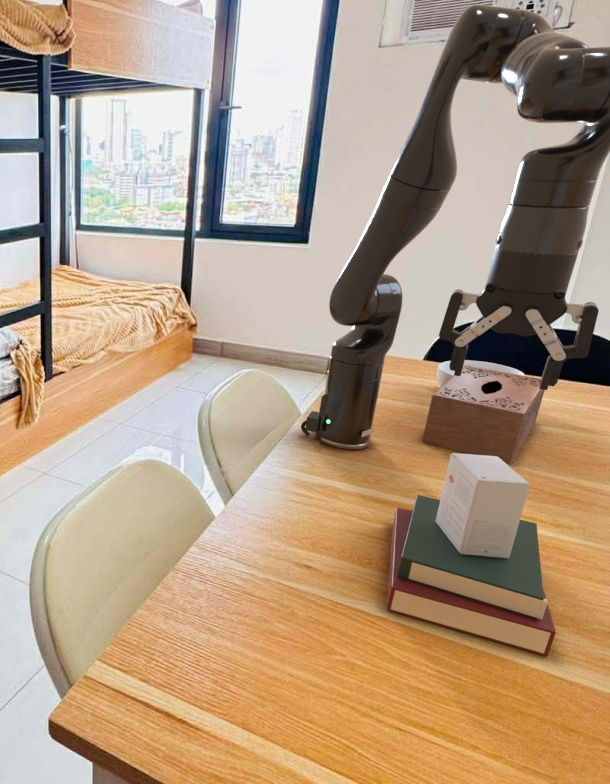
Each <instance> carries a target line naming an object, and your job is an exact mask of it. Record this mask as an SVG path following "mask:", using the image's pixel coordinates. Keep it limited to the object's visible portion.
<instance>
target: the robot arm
mask: <svg viewBox="0 0 610 784" xmlns="http://www.w3.org/2000/svg"><path fill="white" fill-rule="evenodd" d="M461 80H466V81H471V82H479V83H486V84H502V85H503V86H504V88H505V89H506V90H507V91H508V92H509V93H510V94H511V95H513V96H514V97H516V111H517V114H518V116H519V118H521V119H522V120H525V121H528V122H531V123H535V124H559V123H561V124H565V123H569V124H570V123H583V124H582V127H581V128H580V129H579V131H578V132H577V133H576V134H575V135H574V136H573V137H572V138H571V139H570V140H568V141H566V142H564V143H561V144H556V145H551V146H545V147H541V148H535V149H533V150H530V151H528V152H526V153H525V154H524V155H523V156H522V158H521V159H520V162H519V164H518V167H517V171H516V175H515V180H514V184H513V187H512V191H511V194H510V199H509V203H508V205H507V209H506V211H505V213H504V216H503V219H502V221H501V222H500V227H499V230H498V234H497V236H496V238H495V246H494V249H493V250H494V251H493V254H492V257H491V261H490V265H489V269H488V273H487V277H486V281H485V285H484V287H483V290H482V291H481V292H480V293H479V294H478V293H472V292H467V291H463V290H462V289H459V288H458V289H455V290H453V292H452V293H451V295H450V297H449V301H448V304H447V307H446V311H445V313H444V317H443V321H442V323H441V327H440V330H439V333H438V337H439V339H440V340H443V341H448V342H449V343H451V344H452V346H453V350H452V353H451V358H450V361H451V362H450V366H449V367H450V370H452V371H455V373H454V375H455V376H461V373H462V369H463V365H464V361H465V360H466V357H467V353H468V349H469V343H470V342H472V341H473V340H475V339H476V338H478V337H479V336H481V335H483V334H484V333H486V332H487V331H488V330H489V329H491V330H492V331H494V332H495V333H497V334H504V335H505V334H514V335H517V336H520V337H528V338H529V336H534V335H537V336H538V338H539V339H540V341H541V342H542V344H543V346H545V348H546V349H547V352H548V353H549V354H550V355H548V356H547V359H546V360H545V361H546V362H545V364H544V368H543V372H542V375H541V377H540V379H541V381H540V385H539V389H542V390H545V391H547V390H548V389H549V387H555V386H556V384H558V382H559V378H560V375H561V371H562V369H563V365H564V363H565V362H566V361H567V360H571V359H584V358H586V357H588V355H589V353H590V348H591V344H592V341H593V336H594V332H595V328H596V323H597V320H598V316H599V308H598V305H597V304H596V303H595V302H593V301H589V302H585V303H584V304H583V303H569V302H567V300H566V295H567V291H568V288H569V285H570V281H571V278H572V275H573V271H574V268H575V265H576V261H577V258H578V255H579V252H580V249H581V248H582V246H583V243H584V241H583V240H584V235H585V231H586V228H587V222H588V214H589V209H590V207H589V206H591V202H592V198H593V197H594V192H595V189H596V186H597V183H598V179H599V176H600V172H601V170H602V168H603V166H604V164H605V161H606V160H607V158H608V156H609V154H610V46H604V47H603V46H601V47H600V46H598V47H596V46H595V47H590V46H588V45H587V43H585V42H584V41H582V40H580V39H577V38H574V37H571V36H568V35H565V34H561V33H557V32H556V31H554V29H553V28H552V26H551V25H550V24H549V22H548V21H547V20H546V19H545V18H544V17H543V16H541V15H540V14H538V13H536V12H534V11H530V10H527V9H519V8H512V7H511V8H510V7H503V6H495V5H485V4H473V5H469V6H468V7H466V8H465V10H463V11H462V13H461V14H460V15H459V16H458V18H457V19H456V21H455V23H454V25H453V26H452V28H451V30H450V32H449V34H448V36H447V38H446V41H445V43H444V46H443V48H442V50H441V53H440V55H439V57H438V60H437V63H436V66H435V68H434V71H433V74H432V77H431V80H430V82H429V84H428V87H427V90H426V92H425V95H424V96H423V97H424V98H423V100H422V103H421V105H420V108H419V110H418V113H417V115H416V118H415V120H414V122H413V124H412V127H411V128H410V132H408V135H407V138H406V140H405V141H404V144H403V146H402V147H401V150H400V152H399V154H398V156H397V158H396V160H395V162H394V163H393V166H392V168H391V171H390V172H389V175H388V177H387V179H386V181H385V184H384V186H383V188H382V190H381V192H380V194H379V198H378V200H377V202H376V205H375V208H374V210H373V211H372V214H371V216H370V218H369V220H368V222H367V224H366V226H365V228H364V230H363V233H362V234H361V236H360V239H359V241H358V242H357V245H356V247H355V248H354V250H353V252H352V254H351V255H350V256H349V259H348V260H347V262H346V263H345V266H344V267H343V269H342V270H341V272H340V275H339V276H338V278H337V279H336V281H335V283H334V285H333V288H332V290H331V293H330V296H329V303H328V308H329V313H330V316H331V318H332V320H333V321H334V322H335V323H337V324H338V325H340V326H345V327H346V326H347V327H351V328H350V330H349V331H348V332H347V333H345V334H344V335H343V336H341V337H339V338H338V339H336V340H335V341H334V342H333V343H332V346H331V349H330V358H329V364H328V369H327V376H326V383H325V389H324V392H323V394H322V395H321V398H320V404H319V411H314V410H312V411H311V412H310V413H309V414H308V415H307V417H306V420H304V421H302V423H300V424H301V425H300V430H301V431H302V433H303V434H304V435H305V436H306V437H309V436H311V433H315V436H314V440H315V441H318V442H321V443H323V444H325V445H327V446H330V447H332V448H337V449H342V450H351V451H353V450H362V449H366V448H368V447H369V446H370V441H371V435H372V434H374V430H375V427H373V422H374V417H375V412H376V406H377V402H378V397H379V391H380V386H381V380H382V376H383V370H384V365H385V359H386V356H387V354H388V353H389V351H390V349H391V348H392V346H393V343H394V340H395V337H396V333H397V328H398V325H399V321H400V317H401V313H402V308H403V297H404V296H403V290H402V286H401V284H400V282H399V281H398V279H397V278H396V277H395V276H393V275H391V274H387V273H385V272H386V271H387V269H388V267H389V266H390V264H391V263H392V262H393V260H394V259H395V258H396V257H397V256H398V255H399V253H400V252H402V250H404V249H405V248H406V247H407V246H408V245H409V244H410V243H411V242H412V241H413V240H415V238H417V237H418V236H419V235H420V234H421V233H422V232H423V231H424V230H425V229H426V228H427V227H428V226H429V225H430V224H431V223H432V222H433V220H434V219H435V218H436V216H437V215H438V213H439V212H440V210H441V208H442V207H443V204H444V203H445V200H446V199H447V197H448V195H449V193H450V192H451V189H452V187H453V185H454V183H455V181H456V179H457V174H458V159H457V152H456V147H455V142H454V141H455V140H454V136H453V129H452V107H453V101H454V97H455V94H456V90H457V89H458V88H457V87H458V85H459V83H460V81H461ZM472 304H476V307H477V309H478V310H479V312H480V314H481V316H480V317H479V318H478V319H476V320H475V321H474V322H472V323H471V324H470V325H469V326H467V327H466V328H465V329H464V330H462V331H461V332H460V331H458V330H455V329H454V327H455V324H456V321H457V318H458V315H459V312H460V311H465V310H467V309H469V306H470V305H472ZM565 314H569V315H570V316H571V321H572V322H573V323H574V324H577V325H578V326H577V329H576V334H575V338H574V342H573V344H569V345H563V343H562V342H561V341H560V338H559V337H558V336H557V333H556V332H555V330H554V328H553V326H552V324H553V323H555V322H556V321H557V320H559V319H560V318H562V317H563V316H565ZM310 432H311V433H310Z"/></svg>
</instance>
